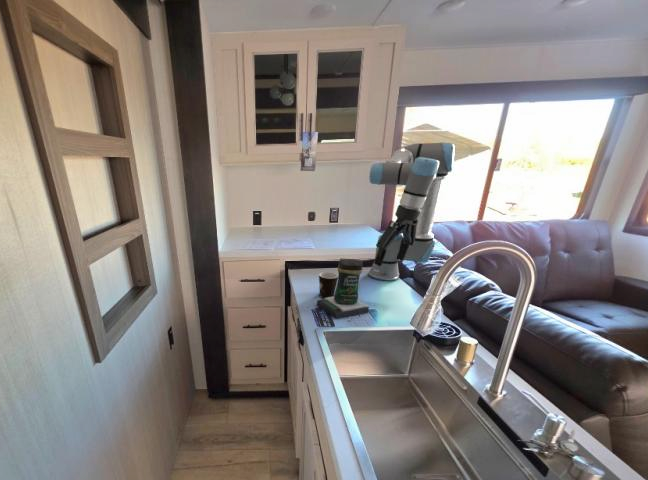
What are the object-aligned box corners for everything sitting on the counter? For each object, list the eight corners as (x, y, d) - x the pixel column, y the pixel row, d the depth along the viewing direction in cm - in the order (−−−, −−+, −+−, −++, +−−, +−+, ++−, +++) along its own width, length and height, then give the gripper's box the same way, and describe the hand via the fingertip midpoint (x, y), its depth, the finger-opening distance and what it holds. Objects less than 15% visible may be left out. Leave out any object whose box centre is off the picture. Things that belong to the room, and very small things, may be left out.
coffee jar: (335, 304, 129) (339, 261, 122) (332, 297, 137) (337, 255, 129) (359, 305, 128) (365, 262, 121) (355, 298, 136) (361, 256, 128)
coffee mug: (336, 299, 142) (338, 279, 138) (317, 298, 144) (318, 277, 139) (335, 290, 152) (337, 270, 148) (317, 289, 154) (319, 269, 150)
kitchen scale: (347, 299, 142) (348, 293, 141) (368, 312, 130) (369, 305, 129) (316, 305, 137) (317, 298, 135) (335, 319, 125) (336, 311, 123)
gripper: (420, 201, 117) (400, 253, 129) (378, 205, 105) (359, 262, 116) (439, 208, 112) (416, 261, 124) (397, 212, 100) (375, 271, 111)
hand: (388, 262), depth 120 cm, fingers open, 13 cm apart
